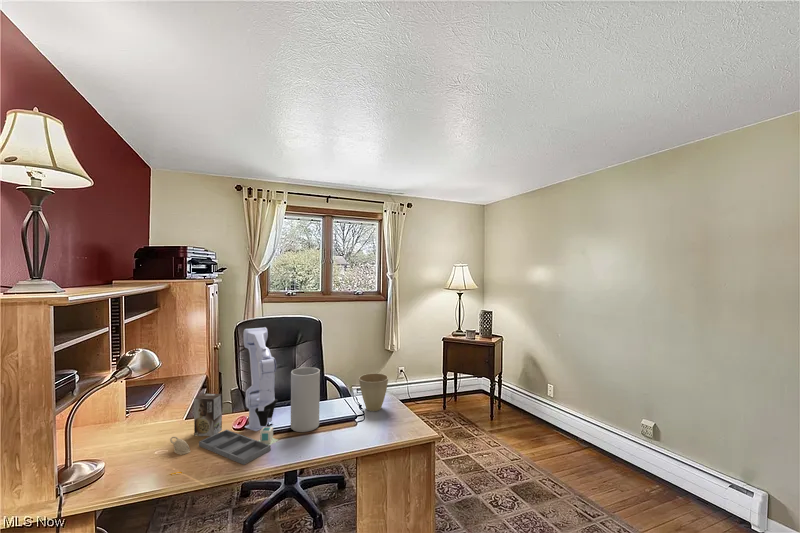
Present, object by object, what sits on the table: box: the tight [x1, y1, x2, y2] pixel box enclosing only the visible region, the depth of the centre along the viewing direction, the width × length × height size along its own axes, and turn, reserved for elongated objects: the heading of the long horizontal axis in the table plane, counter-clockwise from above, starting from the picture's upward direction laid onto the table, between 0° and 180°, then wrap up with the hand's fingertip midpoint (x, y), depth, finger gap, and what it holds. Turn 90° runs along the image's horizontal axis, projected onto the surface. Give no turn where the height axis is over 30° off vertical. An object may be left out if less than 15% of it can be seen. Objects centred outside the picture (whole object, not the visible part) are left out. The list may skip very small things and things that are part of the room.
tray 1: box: [198, 429, 241, 453], centre depth 149 cm, size 12×9×2 cm
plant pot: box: [358, 372, 389, 412], centre depth 186 cm, size 15×15×16 cm
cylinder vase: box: [290, 366, 321, 433], centre depth 165 cm, size 12×12×25 cm
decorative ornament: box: [169, 436, 191, 456], centre depth 141 cm, size 4×8×5 cm, turn 62°
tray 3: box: [227, 439, 272, 466], centre depth 140 cm, size 12×9×2 cm
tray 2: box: [212, 434, 255, 459], centre depth 144 cm, size 12×9×2 cm
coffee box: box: [193, 393, 223, 437], centre depth 157 cm, size 9×6×16 cm
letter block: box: [259, 426, 274, 444], centre depth 150 cm, size 4×4×5 cm
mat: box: [257, 437, 280, 446], centre depth 150 cm, size 7×7×1 cm
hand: (266, 421), depth 150 cm, fingers open, 7 cm apart
